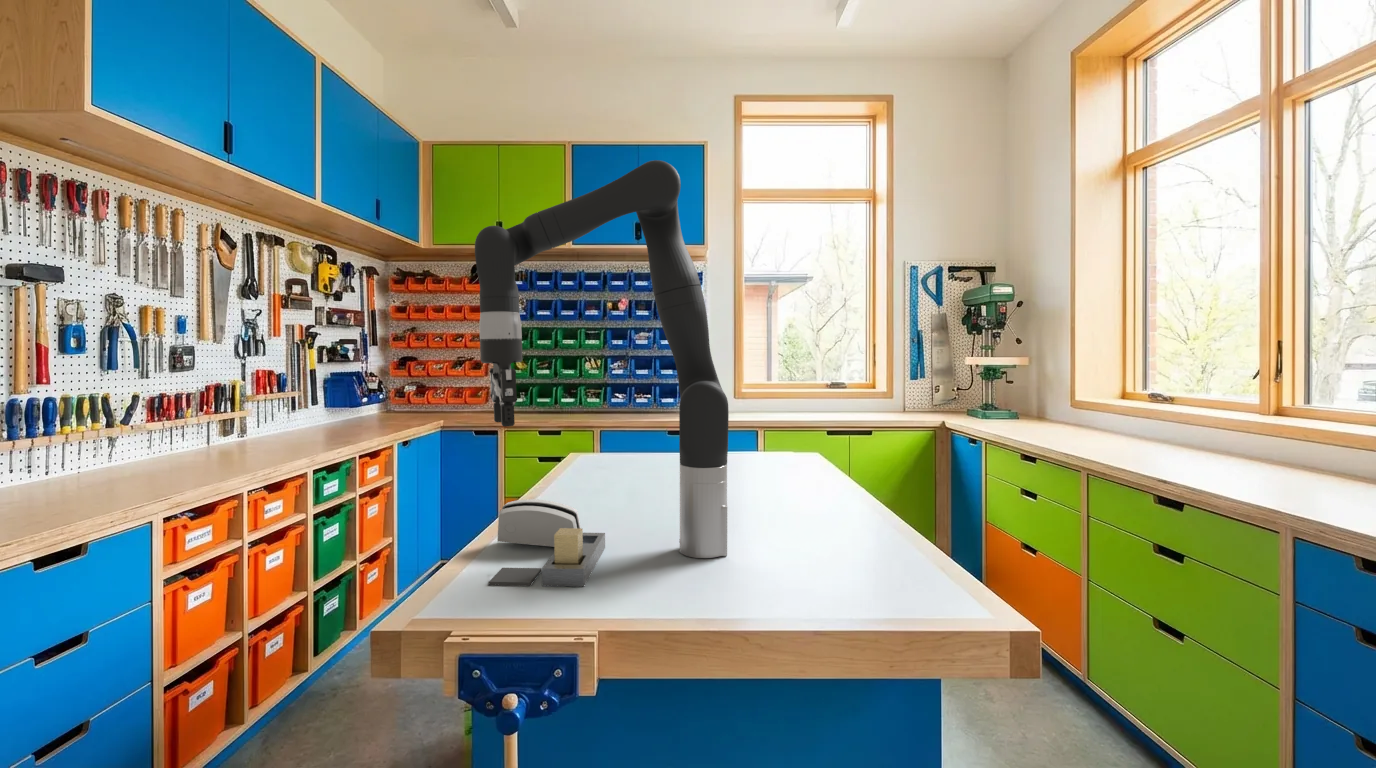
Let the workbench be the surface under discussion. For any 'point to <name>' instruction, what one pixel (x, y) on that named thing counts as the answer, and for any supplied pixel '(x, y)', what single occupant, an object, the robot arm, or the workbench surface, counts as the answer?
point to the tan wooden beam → (568, 546)
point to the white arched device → (534, 521)
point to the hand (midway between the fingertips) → (504, 424)
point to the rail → (575, 573)
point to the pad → (515, 576)
